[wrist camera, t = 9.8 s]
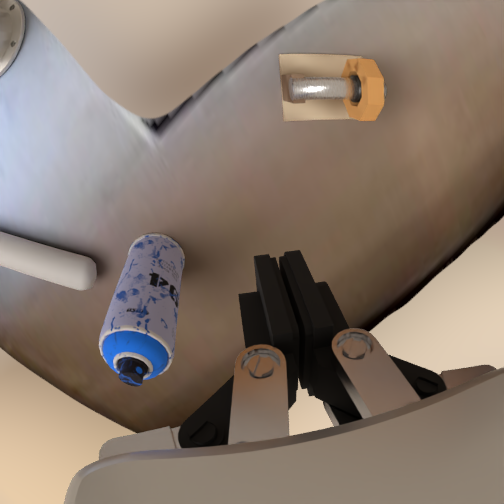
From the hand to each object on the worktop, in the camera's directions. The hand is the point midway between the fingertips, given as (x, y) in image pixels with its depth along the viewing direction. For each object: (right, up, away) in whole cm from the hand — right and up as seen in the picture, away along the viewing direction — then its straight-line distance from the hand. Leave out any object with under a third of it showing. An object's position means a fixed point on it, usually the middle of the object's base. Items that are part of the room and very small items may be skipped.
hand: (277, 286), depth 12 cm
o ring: (+10, +20, +19) cm, 29 cm away
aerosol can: (-14, 0, +30) cm, 33 cm away
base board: (+7, +20, +21) cm, 30 cm away
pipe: (+8, +19, +18) cm, 27 cm away
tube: (-34, +2, +26) cm, 43 cm away
